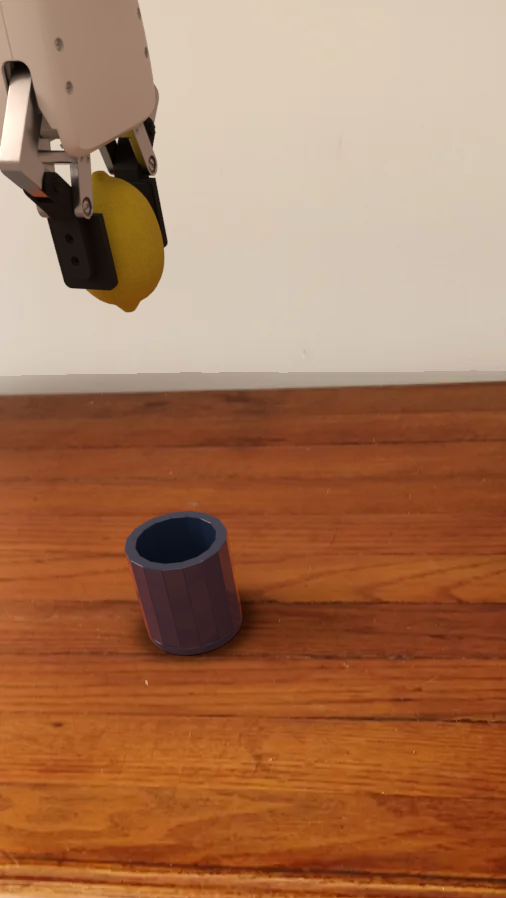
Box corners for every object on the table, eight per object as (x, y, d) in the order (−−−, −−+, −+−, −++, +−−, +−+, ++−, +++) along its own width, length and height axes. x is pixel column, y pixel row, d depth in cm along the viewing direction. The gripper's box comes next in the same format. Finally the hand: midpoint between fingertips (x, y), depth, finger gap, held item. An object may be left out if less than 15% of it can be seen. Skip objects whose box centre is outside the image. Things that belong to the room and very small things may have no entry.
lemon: (159, 287, 61) (131, 151, 56) (187, 316, 57) (160, 172, 52) (74, 307, 59) (37, 169, 54) (97, 338, 55) (60, 192, 50)
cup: (131, 646, 63) (106, 561, 59) (174, 588, 68) (153, 505, 63) (219, 662, 62) (200, 576, 57) (257, 601, 66) (242, 517, 62)
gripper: (55, -132, 52) (129, 217, 63) (-161, -103, 39) (-19, 322, 51) (180, -142, 50) (233, 220, 62) (-6, -114, 38) (105, 331, 49)
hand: (118, 263), depth 56 cm, fingers closed on lemon, 5 cm apart
